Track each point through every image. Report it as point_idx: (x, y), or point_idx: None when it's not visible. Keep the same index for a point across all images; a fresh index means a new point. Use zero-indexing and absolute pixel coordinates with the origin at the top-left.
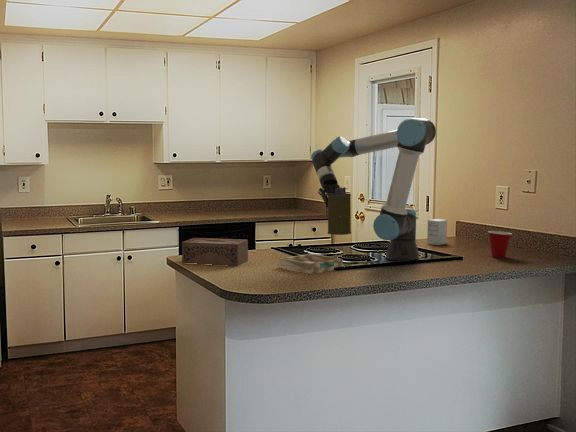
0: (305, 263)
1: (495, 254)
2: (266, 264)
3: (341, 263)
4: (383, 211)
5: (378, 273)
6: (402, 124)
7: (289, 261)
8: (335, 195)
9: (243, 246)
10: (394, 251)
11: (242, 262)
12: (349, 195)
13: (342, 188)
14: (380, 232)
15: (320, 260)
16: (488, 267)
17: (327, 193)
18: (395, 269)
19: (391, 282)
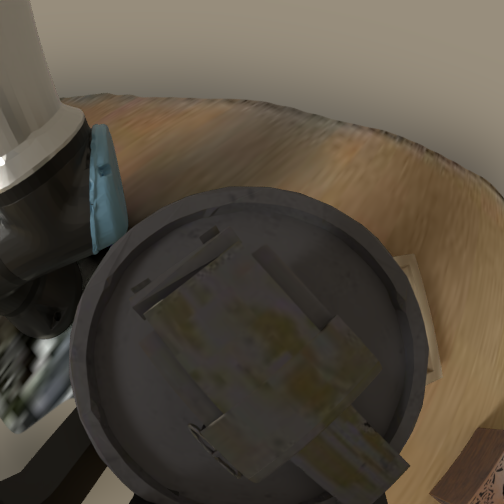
0: (419, 272)
1: None
2: (426, 436)
3: None
4: (78, 144)
5: (251, 176)
6: None
7: (433, 336)
8: (393, 260)
9: (480, 471)
10: (65, 274)
11: (460, 457)
12: (190, 201)
13: (192, 321)
14: (124, 206)
15: None
16: None
17: (381, 487)
18: (177, 188)
19: (290, 114)
